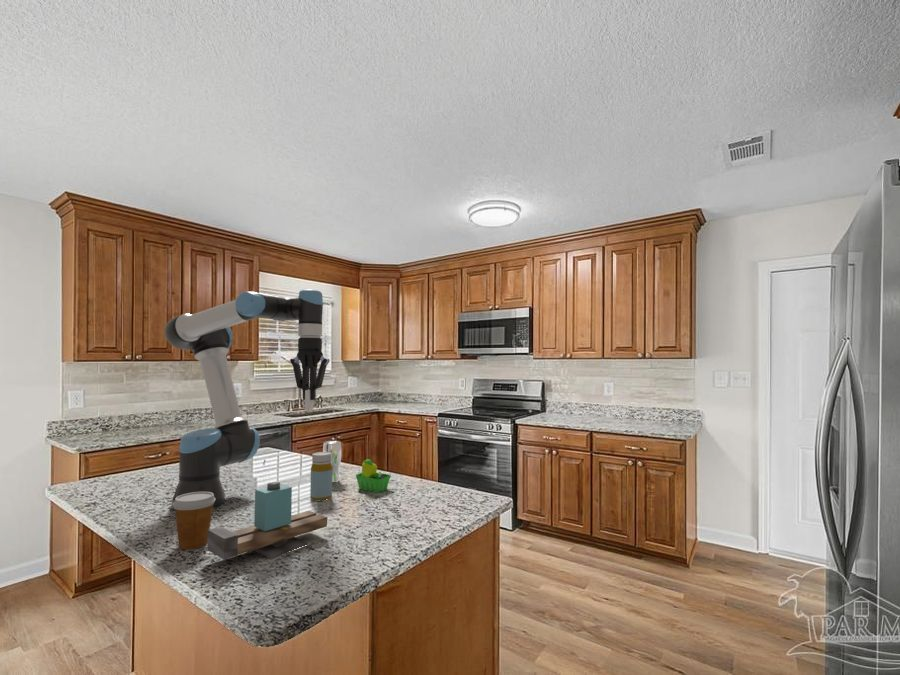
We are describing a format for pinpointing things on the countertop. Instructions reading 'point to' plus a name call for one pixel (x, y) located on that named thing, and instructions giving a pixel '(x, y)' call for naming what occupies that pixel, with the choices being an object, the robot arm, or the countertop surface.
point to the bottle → (321, 476)
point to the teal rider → (273, 506)
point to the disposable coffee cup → (193, 518)
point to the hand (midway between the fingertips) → (308, 410)
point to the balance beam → (264, 537)
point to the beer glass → (334, 457)
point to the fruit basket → (372, 478)
